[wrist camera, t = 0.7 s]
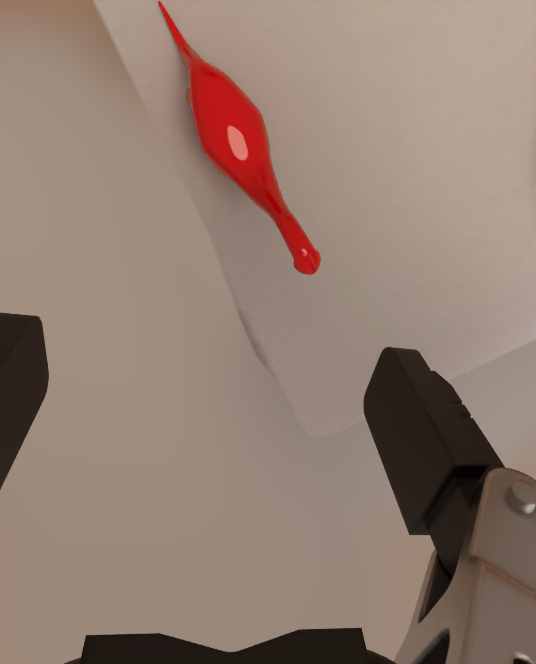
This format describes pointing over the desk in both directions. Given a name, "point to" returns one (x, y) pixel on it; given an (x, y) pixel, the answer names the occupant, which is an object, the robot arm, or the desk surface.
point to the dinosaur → (240, 146)
